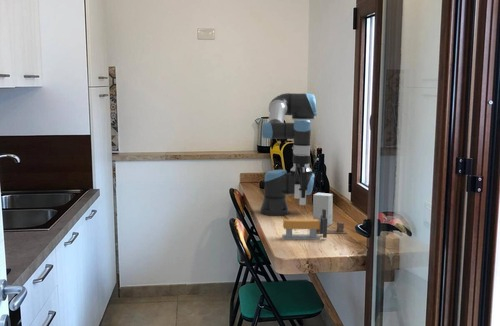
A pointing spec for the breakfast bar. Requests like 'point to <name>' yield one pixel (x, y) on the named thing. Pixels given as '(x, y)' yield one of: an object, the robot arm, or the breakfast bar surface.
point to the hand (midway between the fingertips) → (299, 201)
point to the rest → (335, 231)
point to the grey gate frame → (323, 224)
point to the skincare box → (323, 206)
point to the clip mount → (300, 235)
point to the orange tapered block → (301, 224)
